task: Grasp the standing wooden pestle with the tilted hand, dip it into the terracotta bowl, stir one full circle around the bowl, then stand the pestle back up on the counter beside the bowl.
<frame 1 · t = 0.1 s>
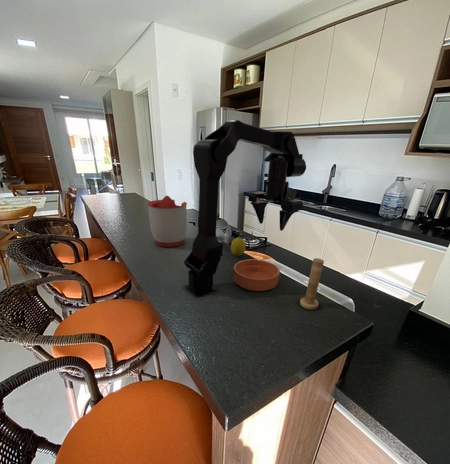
hand: (271, 226, 83), 15 cm above the counter, tool pointing down, fingers open, 9 cm apart
wooden pestle: (308, 304, 69), on the counter
citrus juicer: (171, 242, 108), on the counter
bowl: (255, 281, 79), on the counter
lemon: (237, 257, 97), on the counter
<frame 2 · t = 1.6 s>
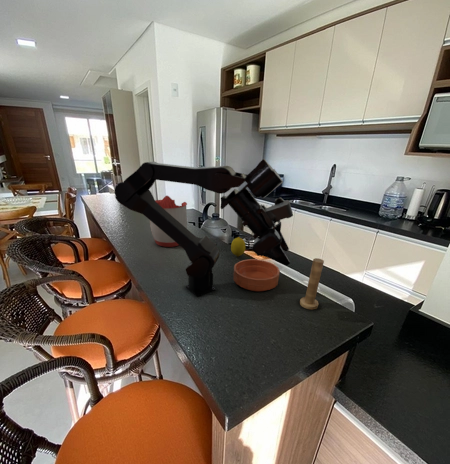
hand: (288, 256, 64), 13 cm above the counter, tool tilted 45°, fingers open, 9 cm apart
nothing on the counter moved.
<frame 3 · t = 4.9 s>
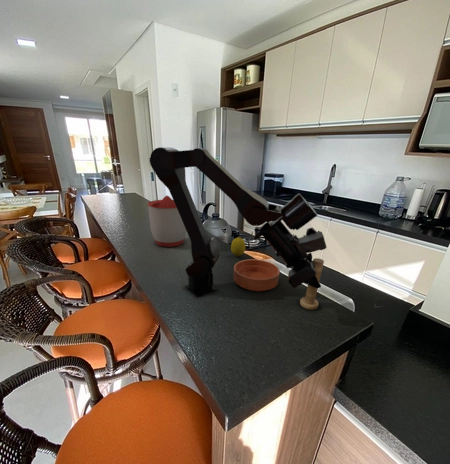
hand: (318, 284, 65), 7 cm above the counter, tool tilted 45°, fingers closed on wooden pestle, 2 cm apart
wooden pestle: (308, 304, 69), on the counter, touching gripper
everything else where it was.
when the fingers open (7 cm above the counter, at t = 19.7 s): wooden pestle stays where it is, on the counter.
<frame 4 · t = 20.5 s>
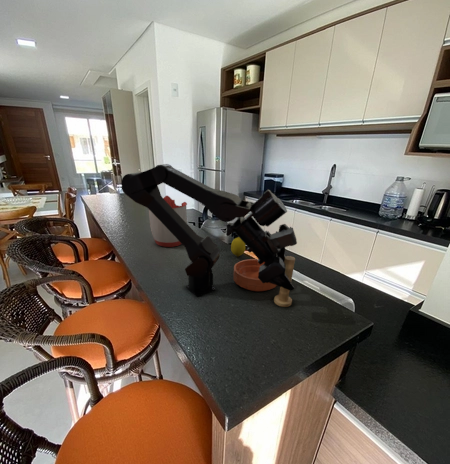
hand: (292, 280, 66), 7 cm above the counter, tool tilted 45°, fingers open, 9 cm apart
wooden pestle: (282, 302, 69), on the counter
everything else where it was.
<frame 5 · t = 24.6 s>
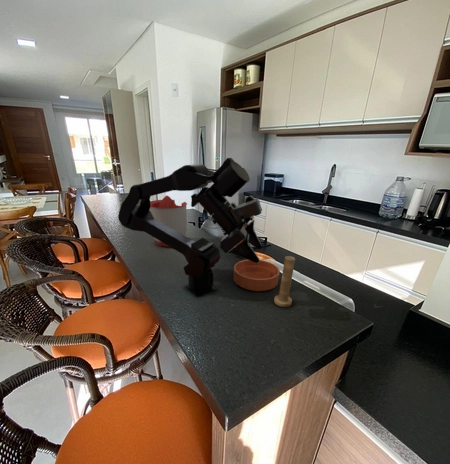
hand: (259, 254, 64), 14 cm above the counter, tool tilted 45°, fingers open, 9 cm apart
nothing on the counter moved.
at the end: wooden pestle 0.0 cm from the target spot, on the counter; wooden pestle tilted 0°; the gripper is holding nothing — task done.
